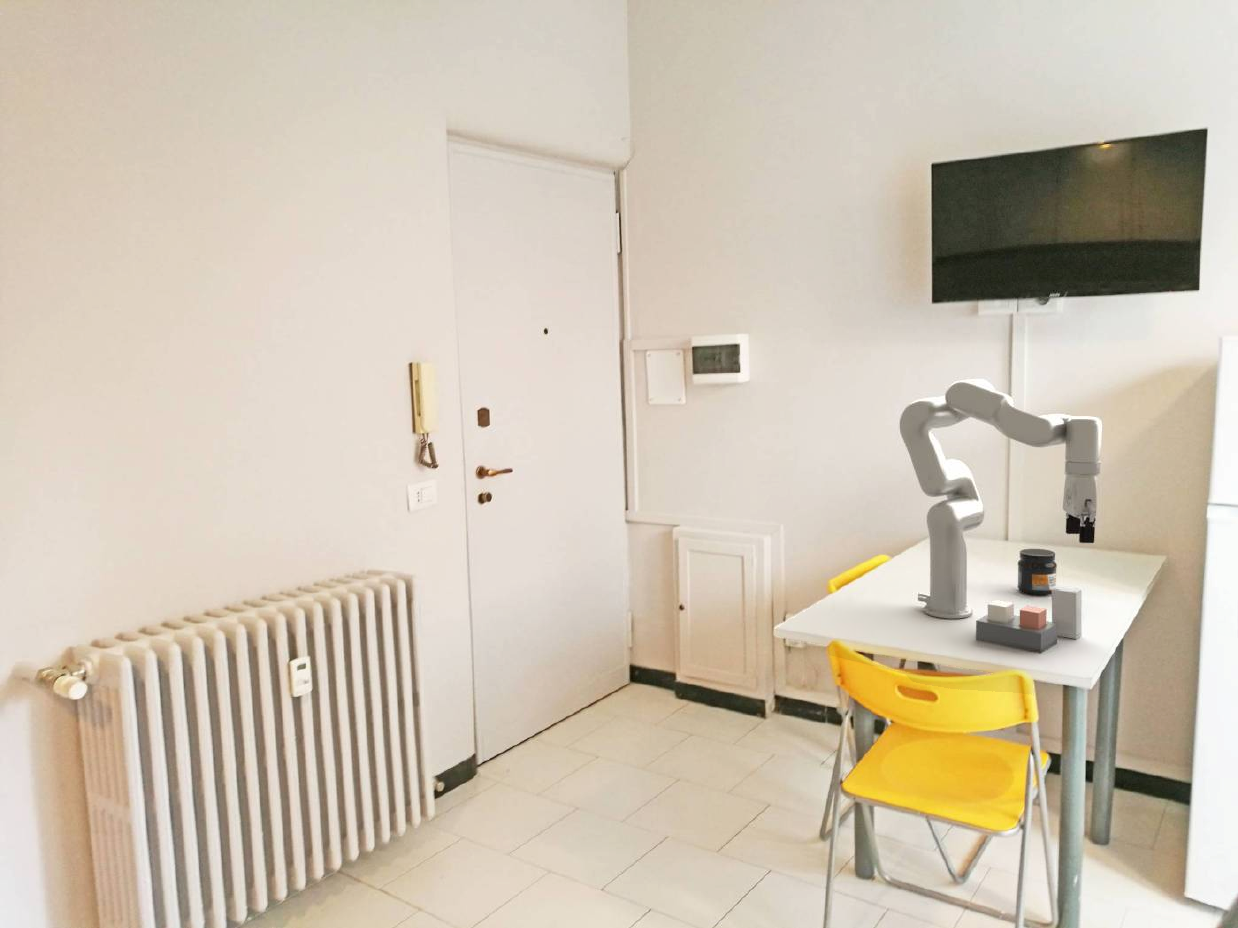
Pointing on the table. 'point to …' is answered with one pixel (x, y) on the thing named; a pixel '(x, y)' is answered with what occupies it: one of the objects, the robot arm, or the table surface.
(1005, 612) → the ivory key
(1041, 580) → the supplement container
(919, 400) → the robot arm
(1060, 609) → the skincare box
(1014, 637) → the key housing
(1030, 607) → the brick key
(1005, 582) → the table surface
